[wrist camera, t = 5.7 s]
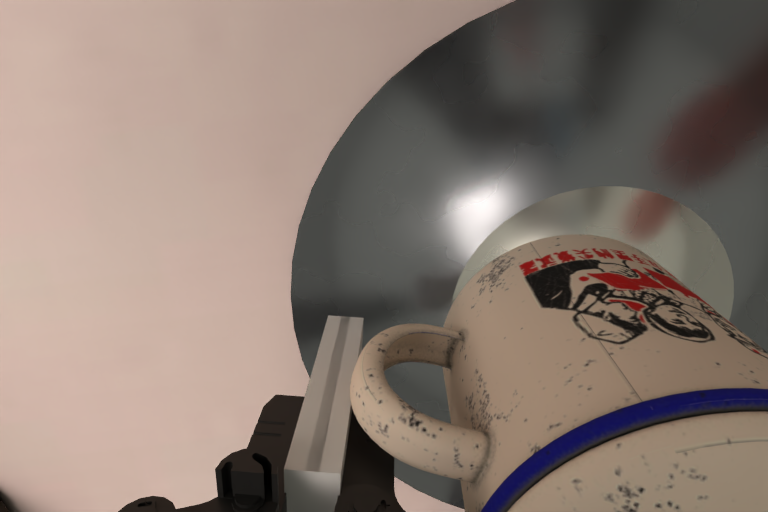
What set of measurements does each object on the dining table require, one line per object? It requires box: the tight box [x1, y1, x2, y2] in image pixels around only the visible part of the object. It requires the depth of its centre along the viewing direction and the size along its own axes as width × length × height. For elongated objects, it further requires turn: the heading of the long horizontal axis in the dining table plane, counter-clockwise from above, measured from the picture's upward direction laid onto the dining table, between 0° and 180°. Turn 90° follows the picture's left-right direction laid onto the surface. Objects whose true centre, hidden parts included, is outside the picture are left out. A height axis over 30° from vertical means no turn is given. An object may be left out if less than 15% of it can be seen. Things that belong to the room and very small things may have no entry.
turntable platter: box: [291, 0, 768, 509], centre depth 18 cm, size 22×22×1 cm
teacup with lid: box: [350, 234, 768, 512], centre depth 12 cm, size 12×9×12 cm
